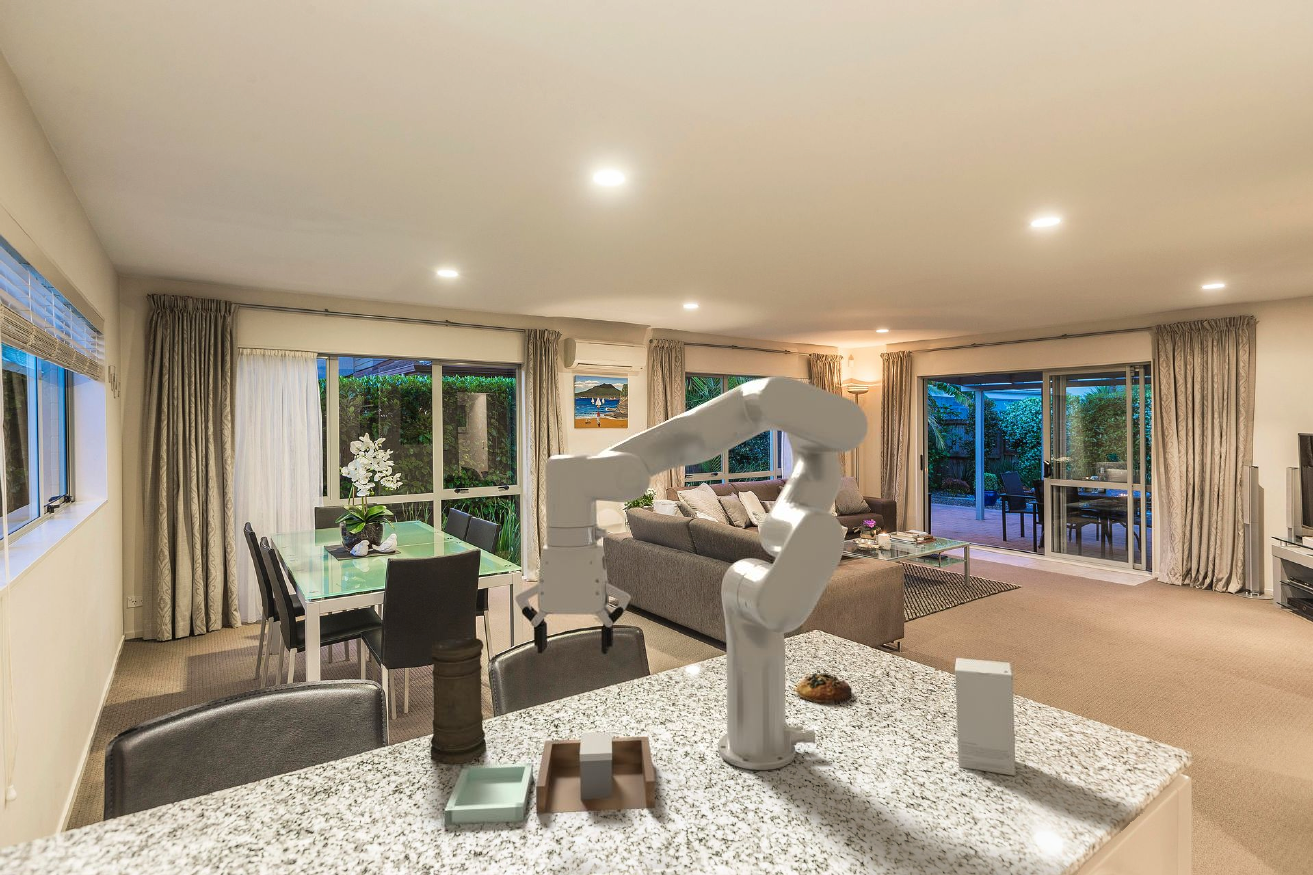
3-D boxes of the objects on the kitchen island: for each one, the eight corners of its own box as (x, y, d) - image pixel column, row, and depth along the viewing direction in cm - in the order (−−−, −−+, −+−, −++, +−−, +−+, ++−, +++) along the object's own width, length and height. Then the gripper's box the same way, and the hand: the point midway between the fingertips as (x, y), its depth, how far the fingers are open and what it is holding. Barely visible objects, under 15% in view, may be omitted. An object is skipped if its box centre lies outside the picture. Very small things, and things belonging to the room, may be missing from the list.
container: (471, 766, 109) (470, 653, 109) (419, 762, 111) (418, 650, 110) (495, 742, 118) (494, 636, 117) (447, 737, 119) (446, 634, 119)
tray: (532, 777, 105) (532, 762, 105) (523, 822, 93) (522, 806, 93) (463, 780, 104) (463, 765, 104) (444, 826, 92) (444, 810, 92)
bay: (648, 761, 110) (648, 736, 110) (654, 809, 96) (654, 780, 96) (545, 765, 109) (545, 740, 109) (536, 815, 95) (536, 786, 95)
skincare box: (1014, 759, 110) (1013, 662, 109) (1016, 778, 104) (1015, 675, 103) (956, 750, 113) (955, 655, 113) (955, 767, 107) (954, 668, 107)
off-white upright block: (611, 773, 106) (611, 731, 105) (612, 798, 98) (612, 752, 98) (581, 775, 105) (581, 732, 105) (580, 799, 98) (579, 754, 98)
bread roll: (859, 704, 132) (855, 678, 133) (802, 712, 132) (798, 686, 133) (844, 685, 143) (841, 661, 144) (792, 693, 144) (788, 669, 144)
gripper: (632, 533, 106) (634, 643, 106) (522, 533, 107) (524, 642, 108) (625, 540, 98) (628, 659, 99) (507, 541, 100) (510, 658, 100)
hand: (574, 650), depth 103 cm, fingers open, 9 cm apart
